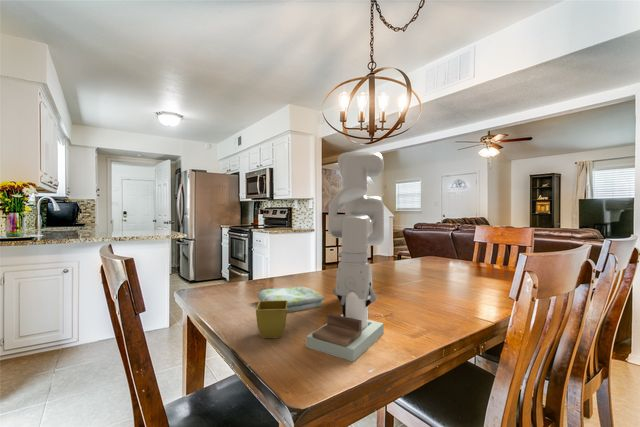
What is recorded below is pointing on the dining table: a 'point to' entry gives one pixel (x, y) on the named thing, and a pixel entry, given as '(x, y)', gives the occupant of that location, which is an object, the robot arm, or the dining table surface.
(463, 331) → the dining table surface
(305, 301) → the towel
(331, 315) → the lid
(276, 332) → the flower pot
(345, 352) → the well board
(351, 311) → the can
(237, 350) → the dining table surface
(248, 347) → the dining table surface
